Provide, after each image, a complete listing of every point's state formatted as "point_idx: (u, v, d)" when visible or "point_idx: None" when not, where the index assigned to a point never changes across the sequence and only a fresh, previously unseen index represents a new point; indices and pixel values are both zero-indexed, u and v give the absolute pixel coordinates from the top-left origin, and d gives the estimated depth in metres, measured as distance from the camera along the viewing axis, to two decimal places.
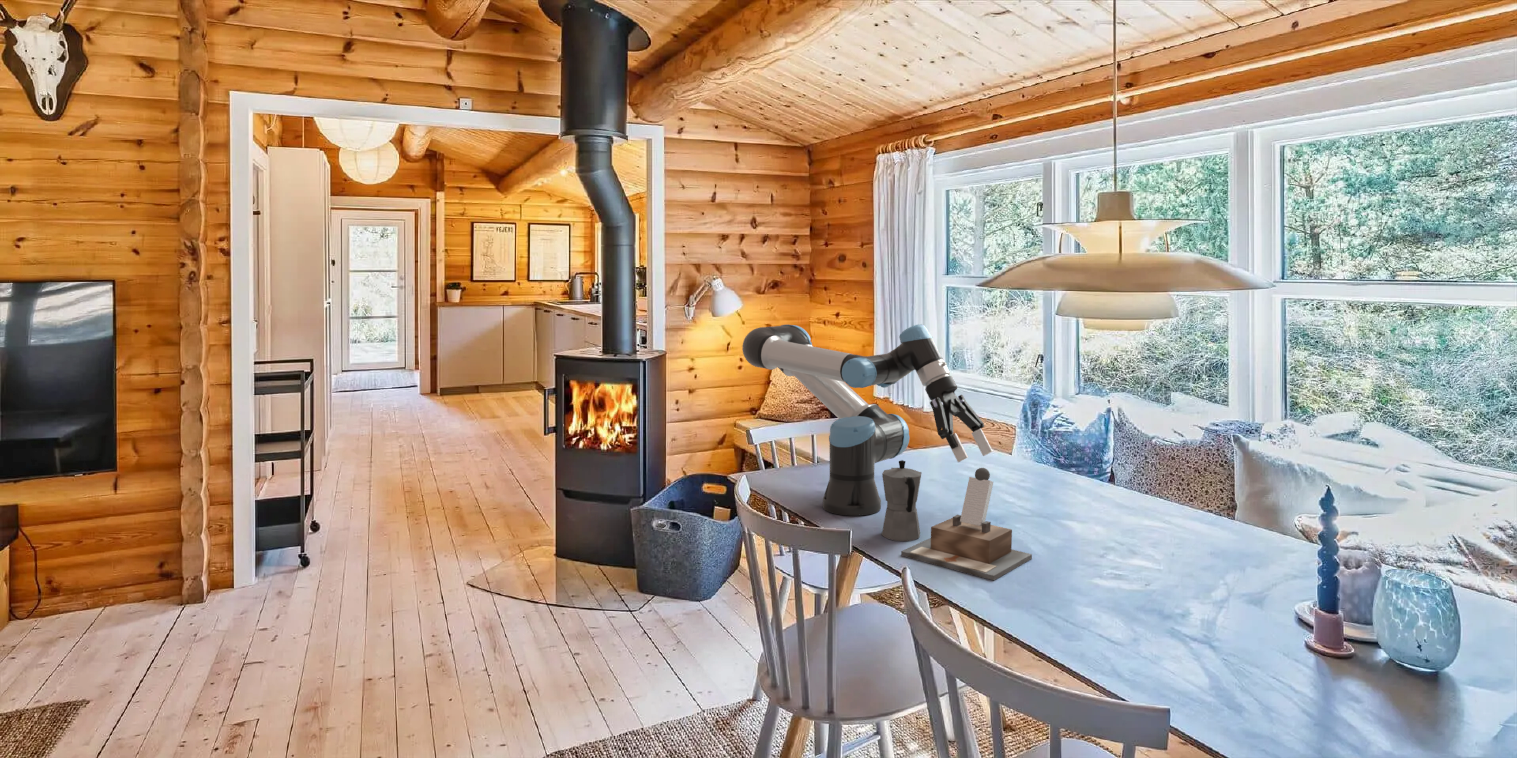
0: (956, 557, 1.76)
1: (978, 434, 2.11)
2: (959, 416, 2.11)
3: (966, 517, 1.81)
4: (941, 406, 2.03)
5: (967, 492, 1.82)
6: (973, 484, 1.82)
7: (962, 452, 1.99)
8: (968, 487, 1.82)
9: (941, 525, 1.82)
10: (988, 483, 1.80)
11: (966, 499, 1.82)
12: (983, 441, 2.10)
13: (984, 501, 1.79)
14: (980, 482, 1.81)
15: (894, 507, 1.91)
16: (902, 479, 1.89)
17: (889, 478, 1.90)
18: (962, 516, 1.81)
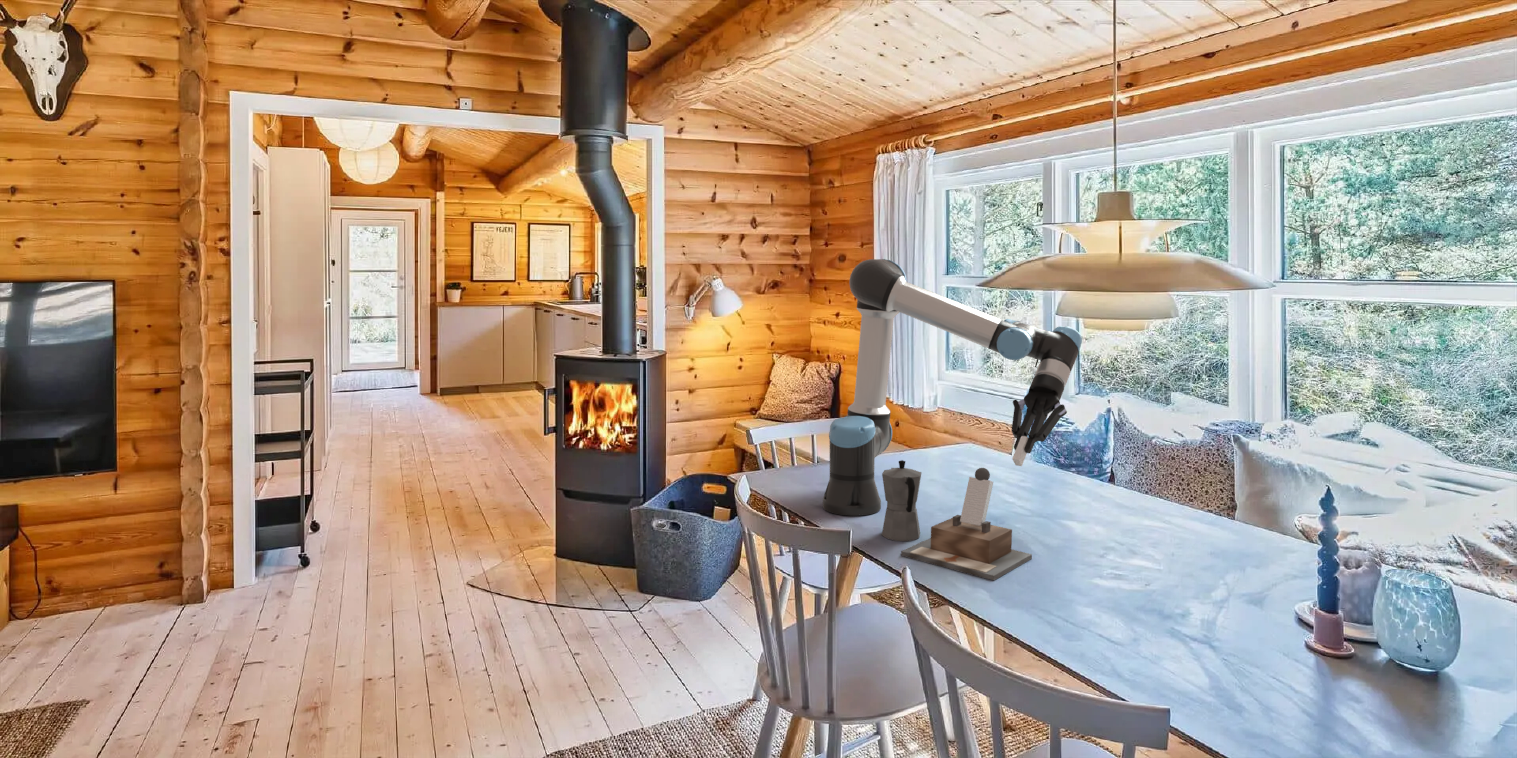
0: (956, 557, 1.76)
1: None
2: (1031, 415, 1.96)
3: (966, 517, 1.81)
4: None
5: (967, 492, 1.82)
6: (973, 484, 1.82)
7: (1023, 459, 1.91)
8: (968, 487, 1.82)
9: (941, 525, 1.82)
10: (988, 483, 1.80)
11: (966, 499, 1.82)
12: None
13: (984, 501, 1.79)
14: (980, 482, 1.81)
15: (894, 507, 1.91)
16: (902, 479, 1.89)
17: (889, 478, 1.90)
18: (962, 516, 1.81)
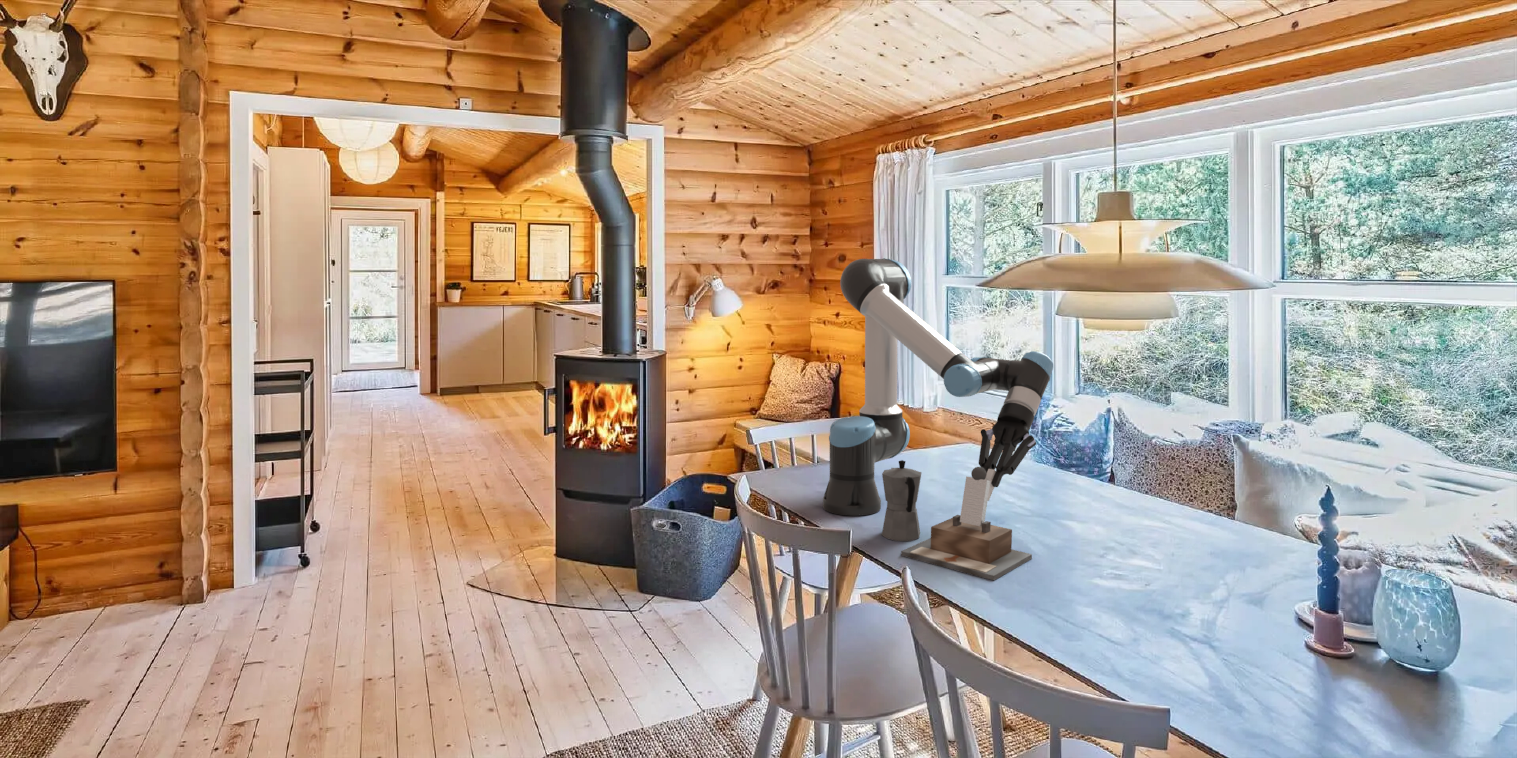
0: (956, 557, 1.76)
1: None
2: (999, 446, 1.87)
3: (965, 517, 1.81)
4: None
5: (965, 492, 1.81)
6: (970, 484, 1.81)
7: (990, 493, 1.82)
8: (966, 487, 1.81)
9: (941, 525, 1.82)
10: (985, 483, 1.79)
11: (964, 499, 1.81)
12: None
13: (982, 502, 1.78)
14: (977, 481, 1.80)
15: (894, 507, 1.91)
16: (902, 479, 1.89)
17: (889, 478, 1.90)
18: (961, 516, 1.81)
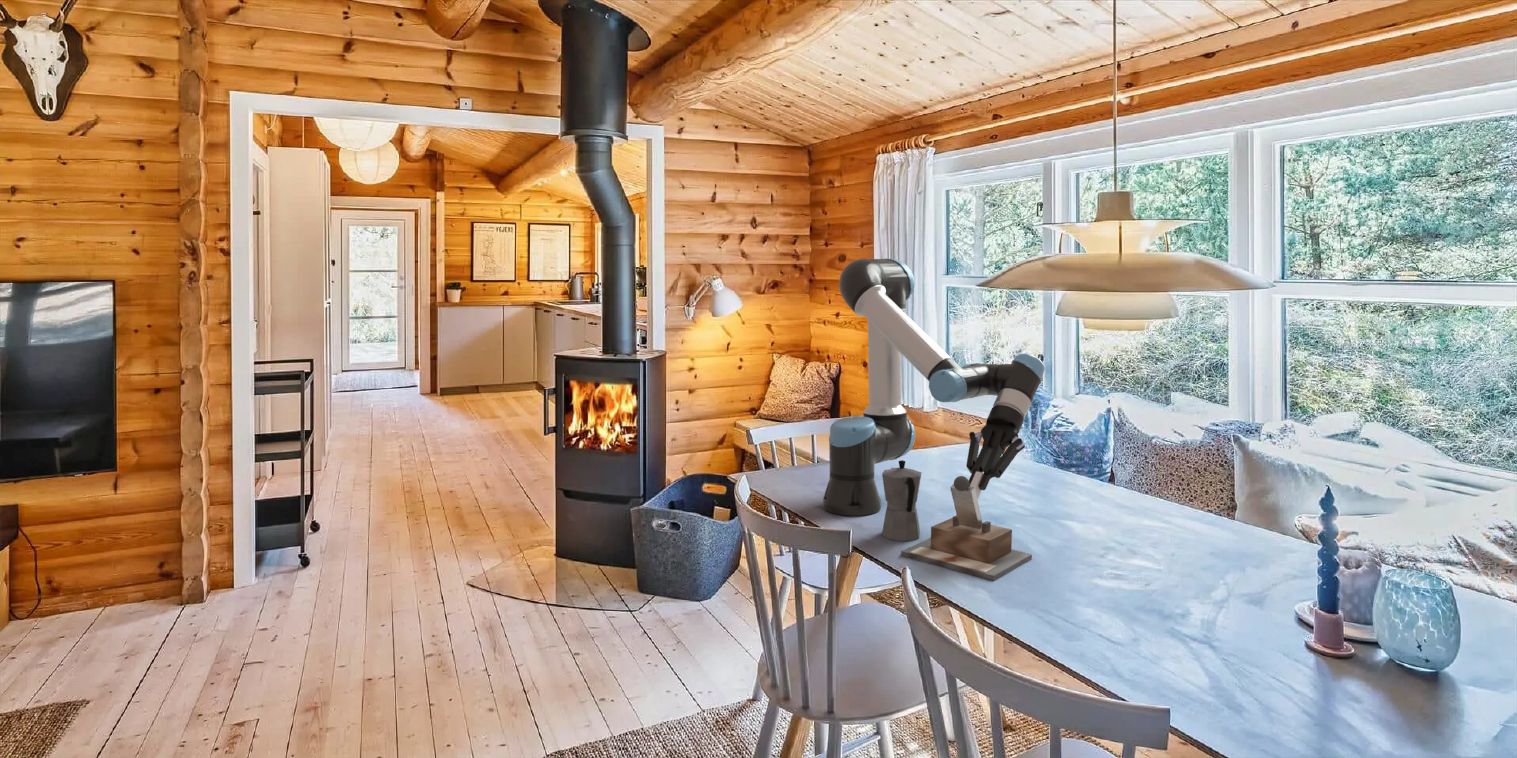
0: (956, 557, 1.76)
1: None
2: (987, 448, 1.84)
3: (963, 521, 1.80)
4: None
5: (954, 500, 1.78)
6: (957, 494, 1.77)
7: (977, 497, 1.79)
8: (954, 497, 1.78)
9: (941, 525, 1.82)
10: (970, 494, 1.74)
11: (956, 506, 1.79)
12: None
13: (973, 509, 1.76)
14: (962, 492, 1.76)
15: (894, 507, 1.91)
16: (902, 479, 1.89)
17: (889, 478, 1.90)
18: (959, 520, 1.81)
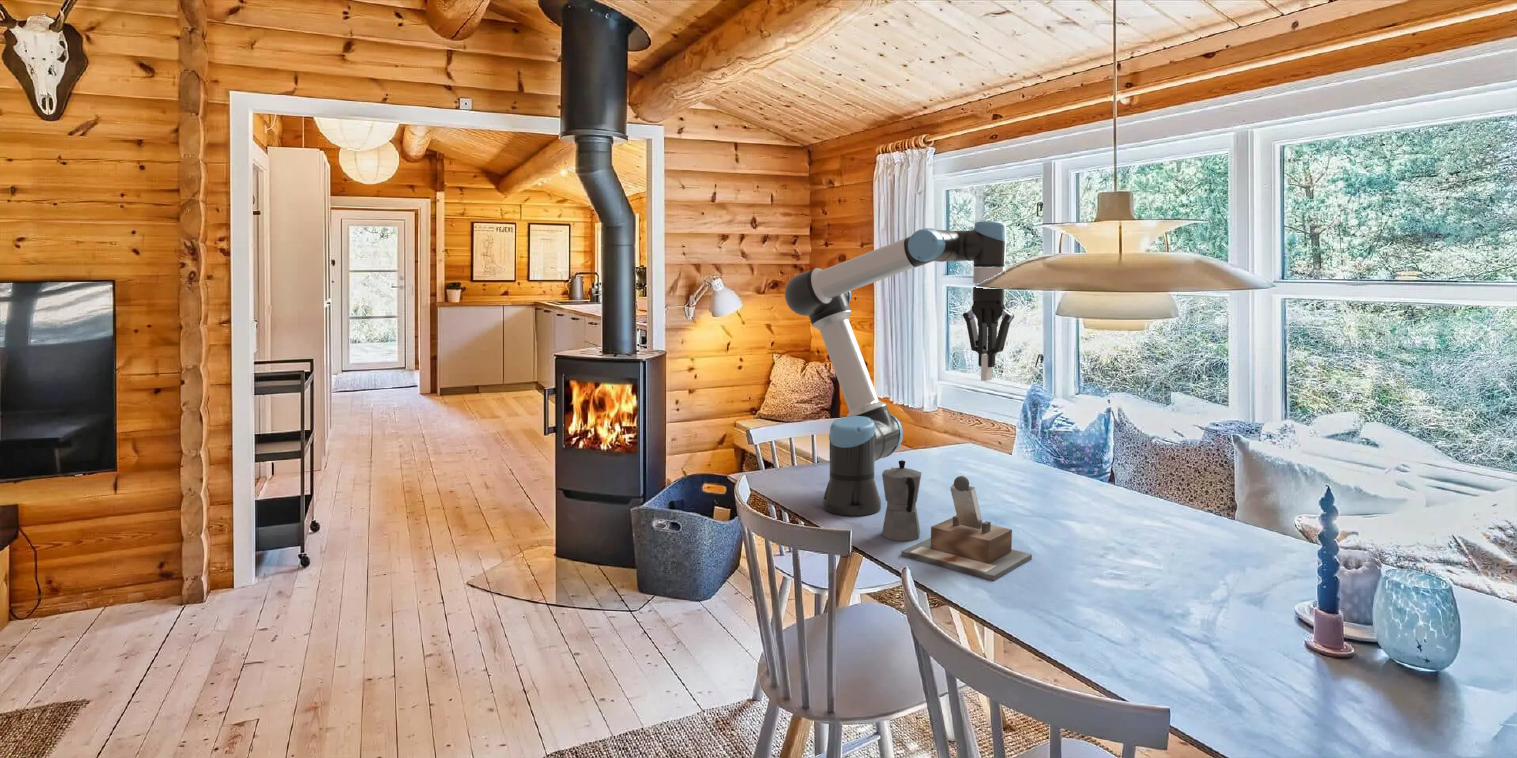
0: (956, 557, 1.76)
1: None
2: (983, 327, 2.05)
3: (963, 521, 1.80)
4: None
5: (954, 500, 1.78)
6: (957, 494, 1.77)
7: (990, 373, 2.07)
8: (954, 497, 1.78)
9: (941, 525, 1.82)
10: (970, 494, 1.74)
11: (956, 506, 1.79)
12: None
13: (973, 509, 1.76)
14: (962, 492, 1.76)
15: (894, 507, 1.91)
16: (902, 479, 1.89)
17: (889, 478, 1.90)
18: (959, 520, 1.81)
